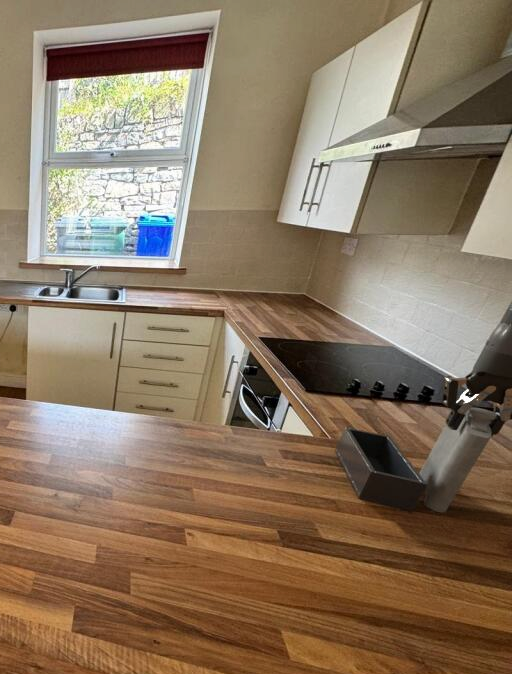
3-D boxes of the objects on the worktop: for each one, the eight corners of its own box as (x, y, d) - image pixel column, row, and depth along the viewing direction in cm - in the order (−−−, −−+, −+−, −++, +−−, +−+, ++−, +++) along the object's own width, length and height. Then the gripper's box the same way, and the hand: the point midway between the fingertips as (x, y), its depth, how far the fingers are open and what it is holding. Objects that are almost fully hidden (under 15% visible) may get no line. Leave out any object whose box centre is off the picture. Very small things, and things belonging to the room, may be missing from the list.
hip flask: (417, 472, 93) (460, 394, 85) (442, 480, 90) (488, 400, 82) (424, 507, 81) (474, 421, 73) (452, 517, 79) (507, 429, 71)
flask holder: (378, 460, 97) (389, 436, 94) (412, 512, 80) (427, 484, 77) (334, 450, 100) (344, 427, 98) (358, 498, 83) (371, 471, 81)
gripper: (472, 349, 73) (429, 430, 79) (589, 363, 67) (532, 450, 74) (452, 338, 79) (414, 415, 86) (558, 351, 73) (507, 432, 80)
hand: (469, 431), depth 80 cm, fingers closed on hip flask, 4 cm apart
